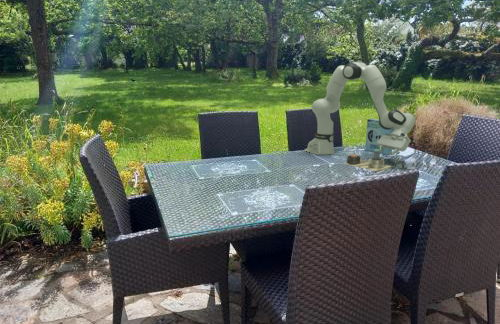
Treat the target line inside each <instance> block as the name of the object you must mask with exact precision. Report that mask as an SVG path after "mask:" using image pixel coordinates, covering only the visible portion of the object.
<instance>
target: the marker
mask: <svg viewBox="0 0 500 324" xmlns="http://www.w3.org/2000/svg"><path fill="white" fill-rule="evenodd" d="M380 154H381V153H380V149H374V152H373V157H372V158H373V160H376V161H379V158H380Z"/></svg>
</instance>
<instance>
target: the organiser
mask: <svg viewBox="0 0 500 324" xmlns="http://www.w3.org/2000/svg"><path fill="white" fill-rule="evenodd" d="M373 158H374V157H372V158H368V160H365V159H361V156H359V155H357V157H355V158H354V157H351V155H347V156H346V162H345V163H343V164H344V165H348V166H352V167H356V168H361V169H366V170H369V171H373V172H374V173H379V172H383V171H385V170H390V169H391V168H392V165H388V164H385V159H384V158H380V157H379V161H376V160H373Z"/></svg>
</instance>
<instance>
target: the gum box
mask: <svg viewBox="0 0 500 324" xmlns="http://www.w3.org/2000/svg"><path fill="white" fill-rule="evenodd" d="M366 122H367V123H366V132H365V134H366V135H365V146H364V147H365V149H364V151H367V152H368V151H369V152H372V153H374V149H380V146H379V145H378V144H377V142H378V140H379V139H380V138H381V137H382V136H383V135H386V134H389V135H390V134H391V132H392V131H393V130H394V127H393V128H392V129H390V130H386V129H383V128H382V127H381V126H380V124H379V119H375V118H369V119H367V120H366ZM382 150H383V151H382V153H381V154H383V155H387V156H389V155H391V154H390V153H391V152H393V149H389V148H382Z"/></svg>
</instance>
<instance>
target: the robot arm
mask: <svg viewBox="0 0 500 324" xmlns="http://www.w3.org/2000/svg"><path fill="white" fill-rule="evenodd" d="M360 79H363V81H364V82H365V85H366V87H367V88H368V92H369V93H370V96H371V101H372V103H373V105H374V108H375V110H376V113H377V115H378V120H379V124H380V126H381V127H382V128H383V129H386V130H390V129H392V128H393V127H394V130H393V131H392V132H391V134H390V135H389V134H386V135H383V136H382V137H381V138H380V139H379V140H378V142H377V144H378V145H379V146H380V154H382V151H383V150H382V148H389V149H392V152H391V153H390V154H389V155H390V156H394V155H395V154H397V153H398V152H401V153H402V152H403V153H404V152H405V151H406V150H407V148H408V147H409V145H410V143H411V141H412V140H411V138H410V137H409V136H408V134H409V133H410V132H411V130H412V129H413V127H414V126H415V124H416V118H415V115H413V114H412V113H411V112H410V113H409V112H402V111H400V110H399V109H397V108H396V109H395V108H393V109H390V110H389V111H388V109H387V106H386V104H385V101H384V96H385V93H386V92H387V82H386V79H385V78H384V76H383V75H382V73H381V71H380V69H379V68H378V67H377V65H375V64H367V63H366V62H364V61H354V62H349V63H347V64H345V65H338V66H337V67H336V69H335V70H334V71H333V73H332V75H331V76H330V79H329V80H328V83H327V85H326V88H325V91H326V96H325V97H324V98H318V99H317V100H315V101H313V102H312V104H311V110H312V112H313V113H314V115H315V117H316V122H317V124H316V125H317V130H316V133H314V136H315V137H314V138H313V139H312V140H310V141H309V142H308V143H307V148H305V149H304V150H303V151H304V152H306V151H307V153H309V152H310V154H313V155H324V156H325V155H333V154H335V153H336V152H335V148H334V137H335V136H334V135H335V134H334V121H333V120H332V119H331V114H334V113H336V112H337V111H338V110H339V109H340V108H341V102H340V100H341V95H342V93H343V92H344V89H345V87H346V85H347V83H348V81H350V80H351V81H352V80H355V81H356V80H360Z"/></svg>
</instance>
